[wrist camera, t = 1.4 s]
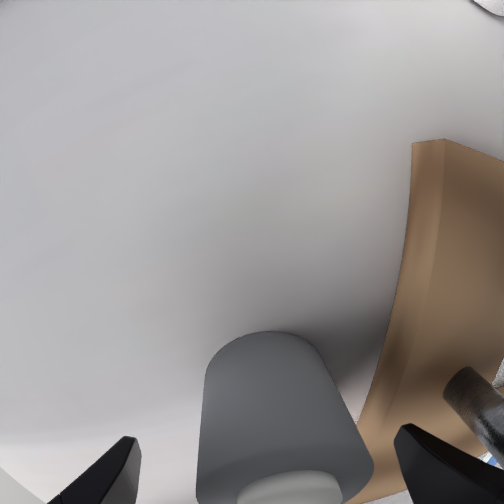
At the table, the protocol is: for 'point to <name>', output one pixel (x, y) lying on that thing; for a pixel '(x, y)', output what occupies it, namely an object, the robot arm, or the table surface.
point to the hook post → (478, 409)
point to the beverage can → (492, 6)
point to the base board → (439, 306)
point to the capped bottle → (276, 427)
